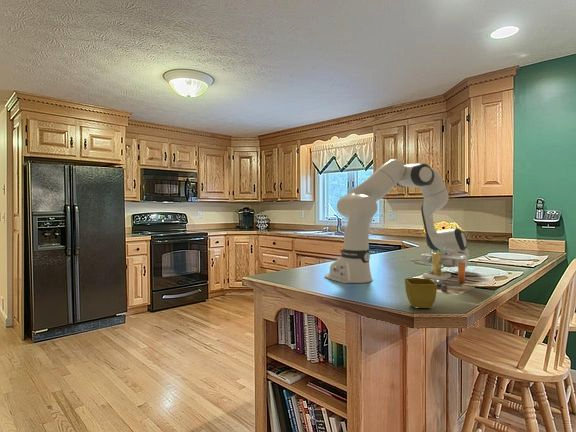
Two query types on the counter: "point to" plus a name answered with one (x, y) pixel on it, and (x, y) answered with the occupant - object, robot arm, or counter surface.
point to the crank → (460, 277)
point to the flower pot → (420, 292)
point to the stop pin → (436, 264)
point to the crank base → (453, 289)
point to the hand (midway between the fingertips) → (436, 261)
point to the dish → (442, 277)
